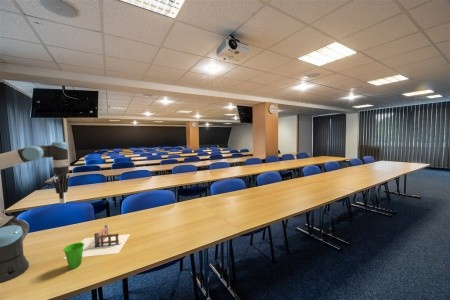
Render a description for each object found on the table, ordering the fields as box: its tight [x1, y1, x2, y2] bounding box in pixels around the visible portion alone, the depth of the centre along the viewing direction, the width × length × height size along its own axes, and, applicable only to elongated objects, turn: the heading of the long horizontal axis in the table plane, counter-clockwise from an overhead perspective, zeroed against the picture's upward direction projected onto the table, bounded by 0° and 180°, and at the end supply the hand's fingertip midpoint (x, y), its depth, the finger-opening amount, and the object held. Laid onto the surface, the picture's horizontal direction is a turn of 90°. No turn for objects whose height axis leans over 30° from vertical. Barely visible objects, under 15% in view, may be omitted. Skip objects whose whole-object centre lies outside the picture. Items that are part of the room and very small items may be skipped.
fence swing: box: [98, 224, 109, 244], centre depth 133 cm, size 2×12×8 cm, turn 8°
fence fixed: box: [93, 232, 120, 247], centre depth 127 cm, size 2×14×8 cm, turn 100°
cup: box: [63, 241, 84, 270], centre depth 106 cm, size 9×9×11 cm
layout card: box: [62, 233, 131, 260], centre depth 127 cm, size 25×30×1 cm
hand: (62, 202), depth 123 cm, fingers closed
